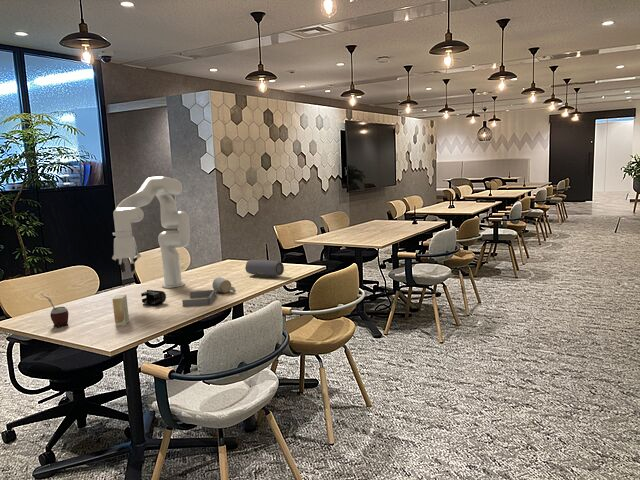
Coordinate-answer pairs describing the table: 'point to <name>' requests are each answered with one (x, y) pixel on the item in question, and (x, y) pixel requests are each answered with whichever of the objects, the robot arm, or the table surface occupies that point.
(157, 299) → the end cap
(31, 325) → the table surface
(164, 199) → the robot arm
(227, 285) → the ceramic mug
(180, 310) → the table surface
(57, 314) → the mate gourd
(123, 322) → the skincare box
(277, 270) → the bluetooth speaker
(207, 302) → the tray
